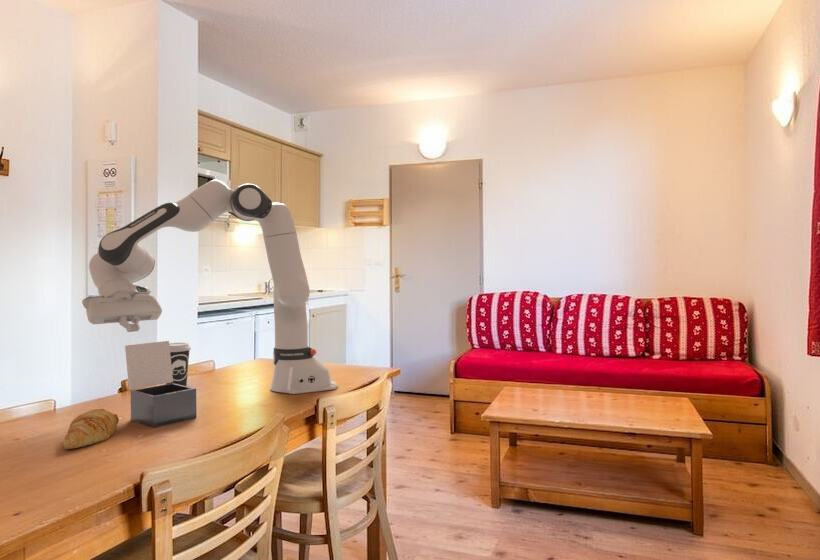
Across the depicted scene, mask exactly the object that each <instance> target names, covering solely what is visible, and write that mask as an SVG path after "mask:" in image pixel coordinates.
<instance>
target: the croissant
mask: <svg viewBox="0 0 820 560" xmlns="http://www.w3.org/2000/svg"><path fill="white" fill-rule="evenodd" d="M119 421H120V420H119V416H118V414H117V413H116V414H115V413H113V412H110V411H108V410H106V409H103V408H102V409H101V408H100V409H99V408H98V409H92V410H88V411H87V412H84V413H82V414H78V415H77V416H76V417H74V419H73V420H72V421H71V422H70V423H69V428H68V430H67V434H66V435H65V438H64V440H63V448H64V449H65V450H73V449H78V448H82V447H86V446H89V445H93V444H98V443H100V441H101V442H104V441H106V440H108V439H109V438H110V437H111V436H113V435H114V433H115V432H116V428H117V427H118V424H119Z"/></svg>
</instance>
